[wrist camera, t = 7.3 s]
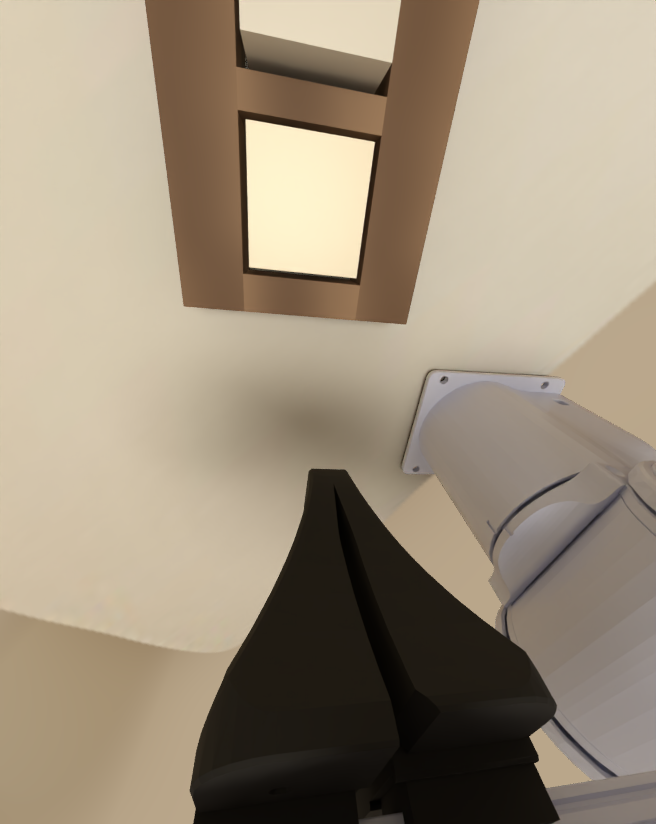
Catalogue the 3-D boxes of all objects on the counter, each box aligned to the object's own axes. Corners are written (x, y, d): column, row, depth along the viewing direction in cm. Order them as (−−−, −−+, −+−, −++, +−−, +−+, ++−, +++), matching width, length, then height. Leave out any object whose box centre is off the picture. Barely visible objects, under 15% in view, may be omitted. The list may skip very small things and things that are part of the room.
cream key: (360, 159, 13) (375, 142, 10) (346, 273, 15) (356, 278, 13) (253, 141, 12) (245, 119, 10) (255, 263, 14) (249, 267, 12)
